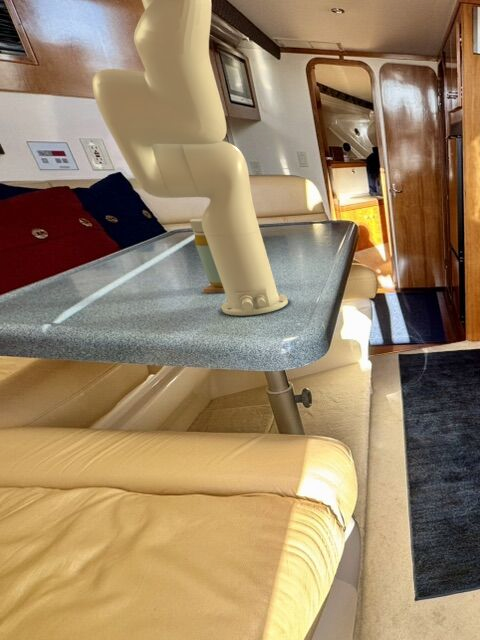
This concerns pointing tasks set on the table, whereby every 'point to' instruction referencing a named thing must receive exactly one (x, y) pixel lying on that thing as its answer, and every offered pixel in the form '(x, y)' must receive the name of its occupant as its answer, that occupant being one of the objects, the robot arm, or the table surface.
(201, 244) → the bottle
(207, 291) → the trivet
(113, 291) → the table surface
